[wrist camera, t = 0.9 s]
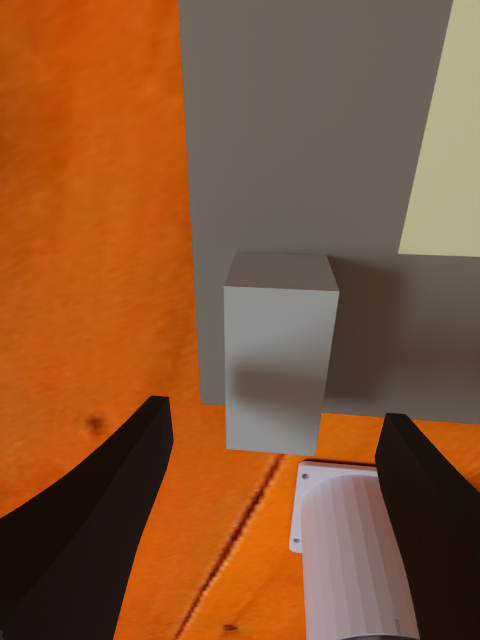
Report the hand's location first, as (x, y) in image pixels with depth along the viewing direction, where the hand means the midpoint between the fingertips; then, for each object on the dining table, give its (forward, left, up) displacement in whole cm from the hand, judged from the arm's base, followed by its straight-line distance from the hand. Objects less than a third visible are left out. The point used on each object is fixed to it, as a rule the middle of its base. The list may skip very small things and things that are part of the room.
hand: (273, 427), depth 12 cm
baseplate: (+4, -8, -8) cm, 12 cm away
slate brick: (0, 0, -7) cm, 7 cm away
